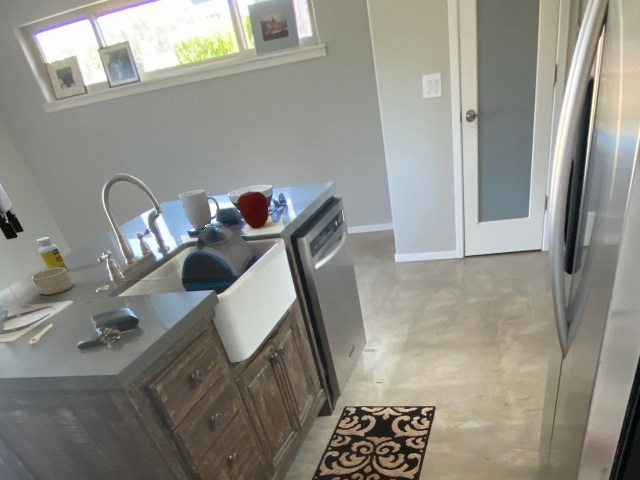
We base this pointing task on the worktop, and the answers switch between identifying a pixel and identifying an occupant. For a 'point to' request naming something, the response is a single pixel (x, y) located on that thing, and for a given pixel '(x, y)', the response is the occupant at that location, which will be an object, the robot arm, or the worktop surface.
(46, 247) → the pill bottle
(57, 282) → the small bowl
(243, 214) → the apple
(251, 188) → the bowl
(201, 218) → the mug
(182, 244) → the worktop surface
